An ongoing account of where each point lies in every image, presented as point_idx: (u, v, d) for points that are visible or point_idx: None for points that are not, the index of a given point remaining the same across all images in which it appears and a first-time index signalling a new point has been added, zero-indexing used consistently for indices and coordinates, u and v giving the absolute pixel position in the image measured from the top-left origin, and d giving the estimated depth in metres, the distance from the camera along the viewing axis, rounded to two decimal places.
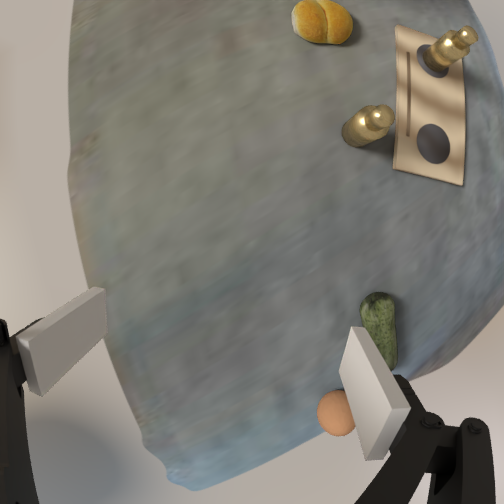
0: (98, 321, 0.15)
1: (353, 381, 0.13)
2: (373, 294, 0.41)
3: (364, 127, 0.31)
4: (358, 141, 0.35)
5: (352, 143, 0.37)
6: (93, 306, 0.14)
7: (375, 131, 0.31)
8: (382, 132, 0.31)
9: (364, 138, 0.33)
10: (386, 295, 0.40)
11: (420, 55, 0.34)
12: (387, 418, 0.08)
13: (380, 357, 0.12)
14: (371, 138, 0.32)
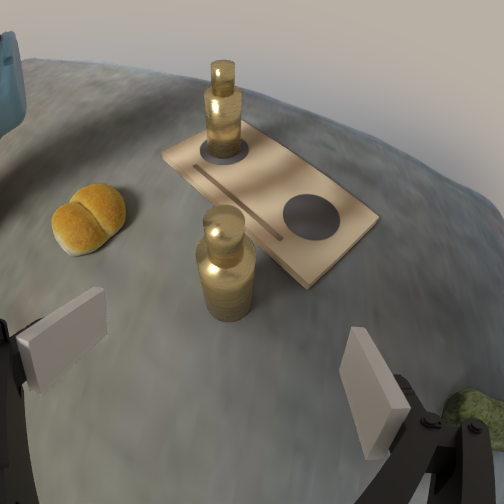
0: (98, 321, 0.15)
1: (353, 382, 0.13)
2: (446, 413, 0.20)
3: (222, 271, 0.20)
4: (237, 301, 0.23)
5: (236, 314, 0.25)
6: (93, 306, 0.14)
7: (239, 260, 0.20)
8: (249, 252, 0.21)
9: (237, 287, 0.21)
10: (458, 395, 0.20)
11: (208, 156, 0.36)
12: (387, 418, 0.08)
13: (380, 357, 0.12)
14: (245, 275, 0.20)
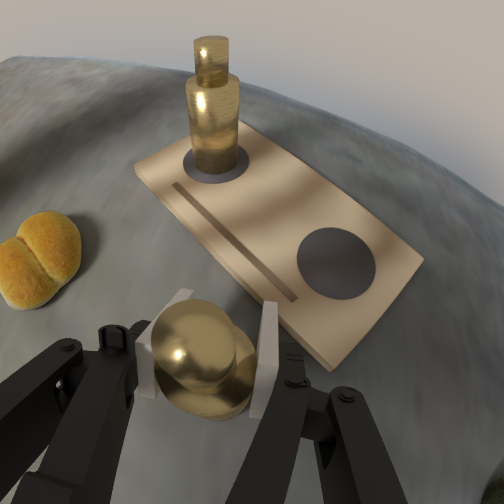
0: None
1: (257, 349, 0.15)
2: None
3: (199, 399, 0.10)
4: (229, 415, 0.14)
5: (228, 418, 0.15)
6: None
7: (228, 384, 0.10)
8: (246, 364, 0.11)
9: (226, 413, 0.11)
10: None
11: (193, 171, 0.26)
12: (257, 374, 0.11)
13: (275, 325, 0.14)
14: (238, 404, 0.11)
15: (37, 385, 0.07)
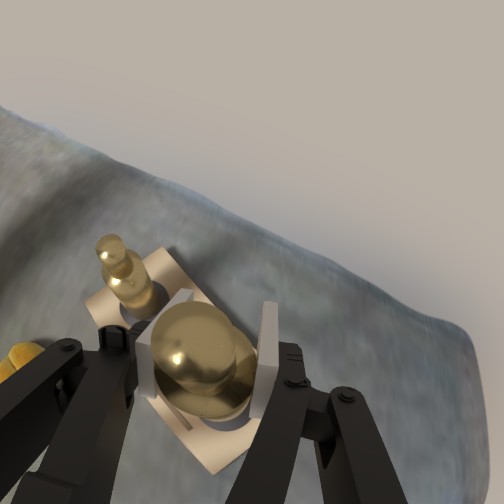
0: None
1: (257, 349, 0.15)
2: None
3: (199, 400, 0.10)
4: (229, 416, 0.14)
5: (227, 419, 0.15)
6: None
7: (228, 385, 0.10)
8: (246, 365, 0.11)
9: (226, 414, 0.11)
10: None
11: (127, 315, 0.32)
12: (256, 374, 0.11)
13: (275, 325, 0.14)
14: (238, 405, 0.11)
15: (37, 385, 0.07)
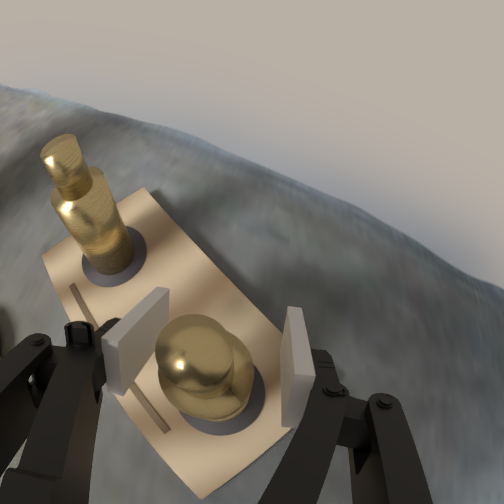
0: (163, 319, 0.16)
1: (284, 356, 0.14)
2: None
3: (200, 403, 0.11)
4: (228, 417, 0.14)
5: (227, 420, 0.16)
6: (161, 305, 0.16)
7: (227, 389, 0.11)
8: (243, 370, 0.12)
9: (225, 416, 0.12)
10: None
11: (90, 269, 0.23)
12: (293, 384, 0.10)
13: (304, 332, 0.14)
14: (236, 408, 0.11)
15: (12, 379, 0.07)
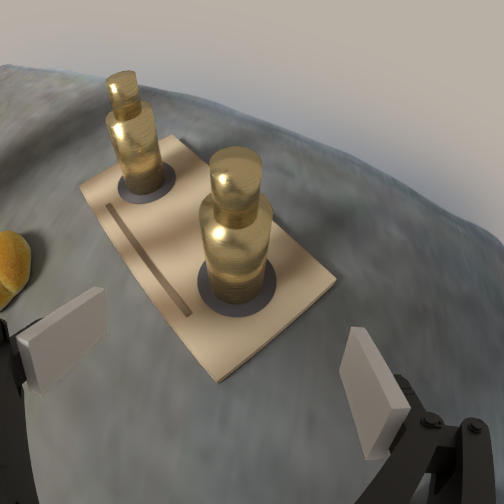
0: (98, 321, 0.15)
1: (353, 381, 0.13)
2: None
3: (231, 232, 0.16)
4: (248, 276, 0.19)
5: (245, 293, 0.21)
6: (93, 306, 0.14)
7: (253, 219, 0.16)
8: (264, 211, 0.17)
9: (249, 254, 0.17)
10: None
11: (125, 192, 0.28)
12: (387, 418, 0.08)
13: (380, 357, 0.12)
14: (259, 238, 0.16)
15: None
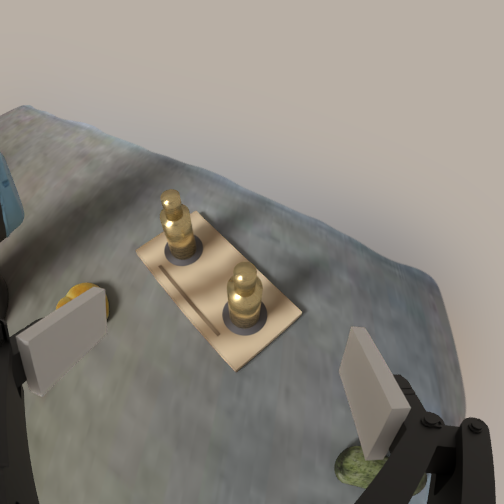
0: (98, 321, 0.15)
1: (353, 381, 0.13)
2: (336, 461, 0.29)
3: (243, 298, 0.34)
4: (251, 315, 0.37)
5: (249, 323, 0.39)
6: (93, 306, 0.14)
7: (253, 292, 0.34)
8: (258, 287, 0.34)
9: (251, 307, 0.34)
10: (347, 450, 0.30)
11: (170, 257, 0.46)
12: (387, 418, 0.08)
13: (380, 357, 0.12)
14: (256, 301, 0.34)
15: None
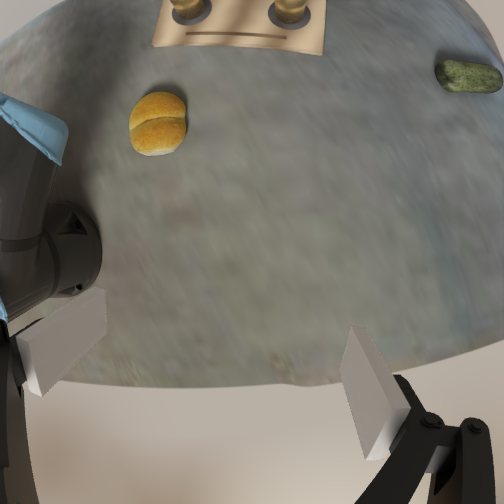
0: (98, 321, 0.15)
1: (353, 381, 0.13)
2: (439, 76, 0.32)
3: None
4: (305, 4, 0.29)
5: (303, 13, 0.31)
6: (93, 306, 0.14)
7: None
8: None
9: None
10: (439, 64, 0.31)
11: (187, 22, 0.34)
12: (387, 418, 0.08)
13: (380, 357, 0.12)
14: None
15: None
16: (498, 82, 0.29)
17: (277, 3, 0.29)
